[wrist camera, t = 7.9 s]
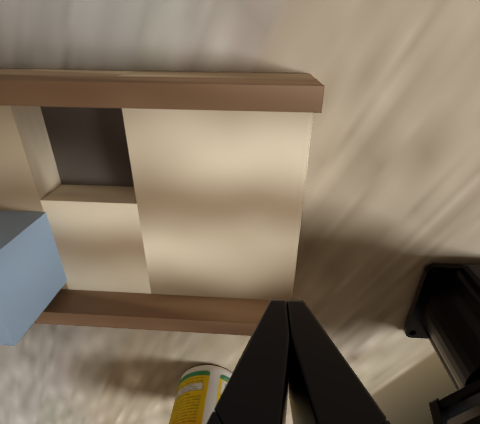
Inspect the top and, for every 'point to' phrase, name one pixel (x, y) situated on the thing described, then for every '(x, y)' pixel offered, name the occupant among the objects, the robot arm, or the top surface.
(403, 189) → the top surface
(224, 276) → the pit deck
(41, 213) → the block
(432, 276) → the robot arm
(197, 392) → the supplement bottle
